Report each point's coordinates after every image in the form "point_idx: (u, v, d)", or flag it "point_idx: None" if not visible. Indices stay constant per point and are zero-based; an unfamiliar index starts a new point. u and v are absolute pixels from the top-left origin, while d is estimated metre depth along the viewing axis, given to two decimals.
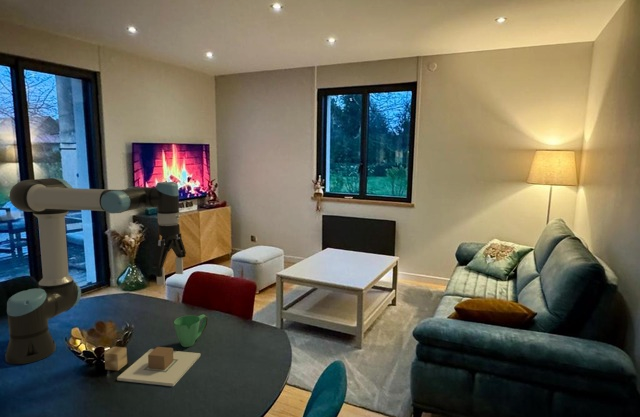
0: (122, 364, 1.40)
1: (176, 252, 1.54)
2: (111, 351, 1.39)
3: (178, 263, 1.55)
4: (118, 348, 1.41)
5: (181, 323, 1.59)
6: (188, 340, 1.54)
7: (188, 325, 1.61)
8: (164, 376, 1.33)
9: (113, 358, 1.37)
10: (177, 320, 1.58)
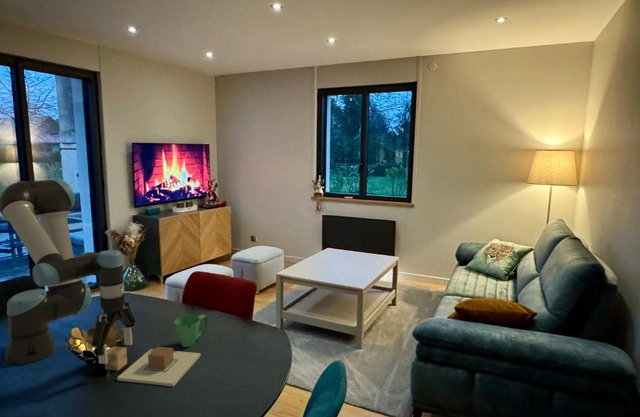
0: (122, 364, 1.40)
1: (123, 322, 1.44)
2: (111, 351, 1.39)
3: (126, 333, 1.45)
4: (118, 348, 1.41)
5: (181, 323, 1.59)
6: (188, 340, 1.54)
7: (188, 325, 1.61)
8: (164, 376, 1.33)
9: (113, 358, 1.37)
10: (177, 320, 1.58)
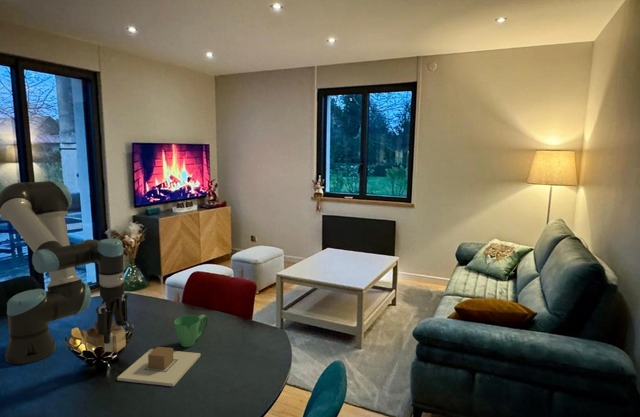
0: (121, 346, 1.39)
1: (117, 317, 1.41)
2: None
3: None
4: (116, 330, 1.40)
5: (181, 323, 1.59)
6: (188, 340, 1.54)
7: (188, 325, 1.61)
8: (164, 376, 1.33)
9: None
10: (177, 320, 1.58)
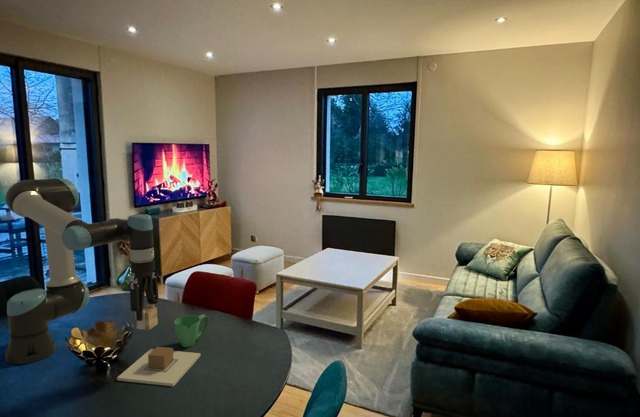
0: (153, 323, 1.37)
1: (148, 295, 1.39)
2: None
3: None
4: (148, 308, 1.38)
5: (181, 323, 1.59)
6: (188, 340, 1.54)
7: (188, 325, 1.61)
8: (164, 376, 1.33)
9: None
10: (177, 320, 1.58)
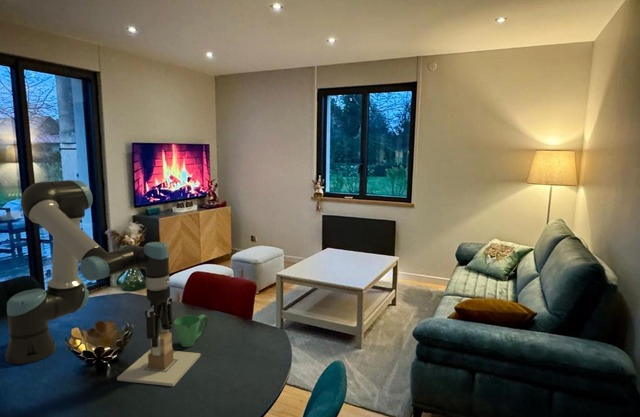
0: (168, 349, 1.39)
1: (163, 321, 1.40)
2: None
3: None
4: (163, 334, 1.40)
5: (181, 323, 1.59)
6: (188, 340, 1.54)
7: (188, 325, 1.61)
8: (164, 376, 1.33)
9: (160, 342, 1.36)
10: (177, 320, 1.58)
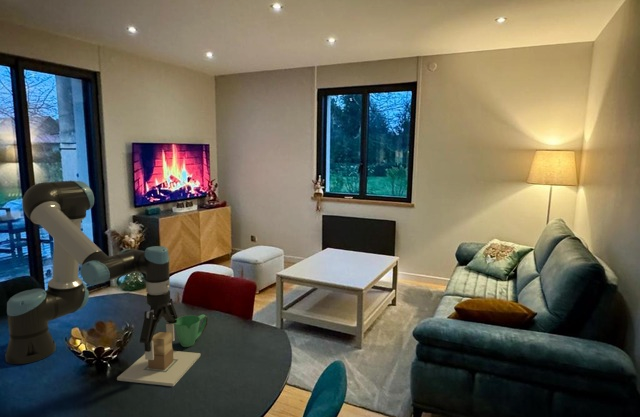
0: (168, 349, 1.39)
1: (167, 318, 1.43)
2: (157, 336, 1.37)
3: (169, 329, 1.45)
4: (163, 334, 1.40)
5: (181, 323, 1.59)
6: (188, 340, 1.54)
7: (188, 325, 1.61)
8: (164, 376, 1.33)
9: (160, 342, 1.36)
10: (177, 320, 1.58)
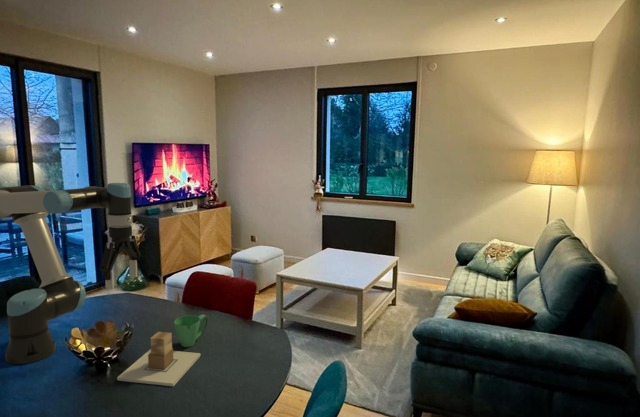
0: (168, 349, 1.39)
1: (129, 254, 1.50)
2: (157, 336, 1.37)
3: (132, 266, 1.52)
4: (163, 334, 1.40)
5: (181, 323, 1.59)
6: (188, 340, 1.54)
7: (188, 325, 1.61)
8: (164, 376, 1.33)
9: (160, 342, 1.36)
10: (177, 320, 1.58)
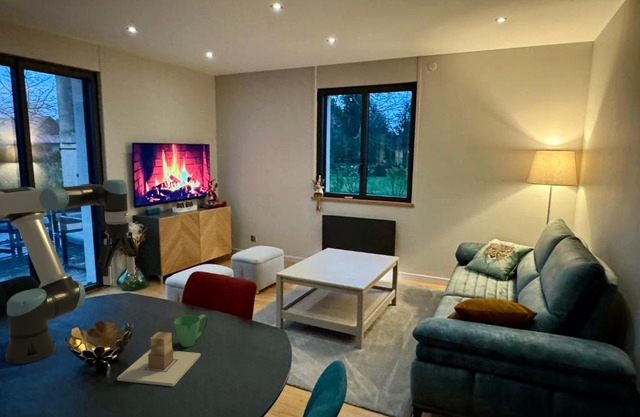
0: (168, 349, 1.39)
1: (127, 251, 1.51)
2: (157, 336, 1.37)
3: (129, 262, 1.53)
4: (163, 334, 1.40)
5: (181, 323, 1.59)
6: (188, 340, 1.54)
7: (188, 325, 1.61)
8: (164, 376, 1.33)
9: (160, 342, 1.36)
10: (177, 320, 1.58)
